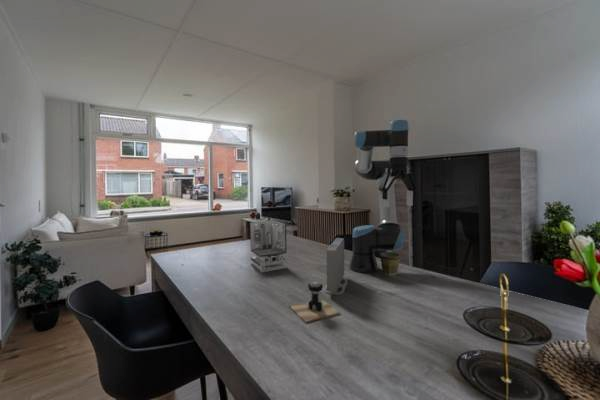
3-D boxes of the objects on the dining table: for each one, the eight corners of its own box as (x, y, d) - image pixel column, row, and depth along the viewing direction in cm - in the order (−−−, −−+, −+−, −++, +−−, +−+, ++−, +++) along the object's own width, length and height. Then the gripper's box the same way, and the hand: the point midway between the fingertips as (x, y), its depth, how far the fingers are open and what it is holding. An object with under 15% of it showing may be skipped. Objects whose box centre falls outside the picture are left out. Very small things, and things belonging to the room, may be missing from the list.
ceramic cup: (402, 276, 138) (403, 257, 137) (382, 277, 138) (382, 257, 137) (394, 268, 151) (394, 250, 150) (376, 268, 151) (376, 250, 150)
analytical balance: (276, 261, 169) (275, 220, 167) (289, 269, 152) (288, 224, 150) (251, 265, 161) (249, 222, 160) (262, 274, 145) (261, 227, 143)
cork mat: (289, 306, 107) (289, 305, 107) (320, 299, 113) (320, 298, 113) (305, 323, 94) (305, 321, 94) (340, 314, 100) (340, 312, 100)
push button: (302, 309, 103) (302, 283, 102) (309, 304, 107) (308, 278, 107) (319, 313, 100) (319, 286, 99) (325, 307, 104) (324, 281, 104)
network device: (341, 298, 114) (341, 250, 112) (320, 296, 116) (320, 249, 115) (348, 277, 138) (348, 237, 137) (331, 276, 141) (331, 237, 139)
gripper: (382, 155, 110) (382, 208, 112) (426, 157, 121) (425, 205, 122) (369, 157, 117) (369, 207, 118) (412, 158, 128) (412, 204, 129)
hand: (398, 206), depth 120 cm, fingers open, 13 cm apart
